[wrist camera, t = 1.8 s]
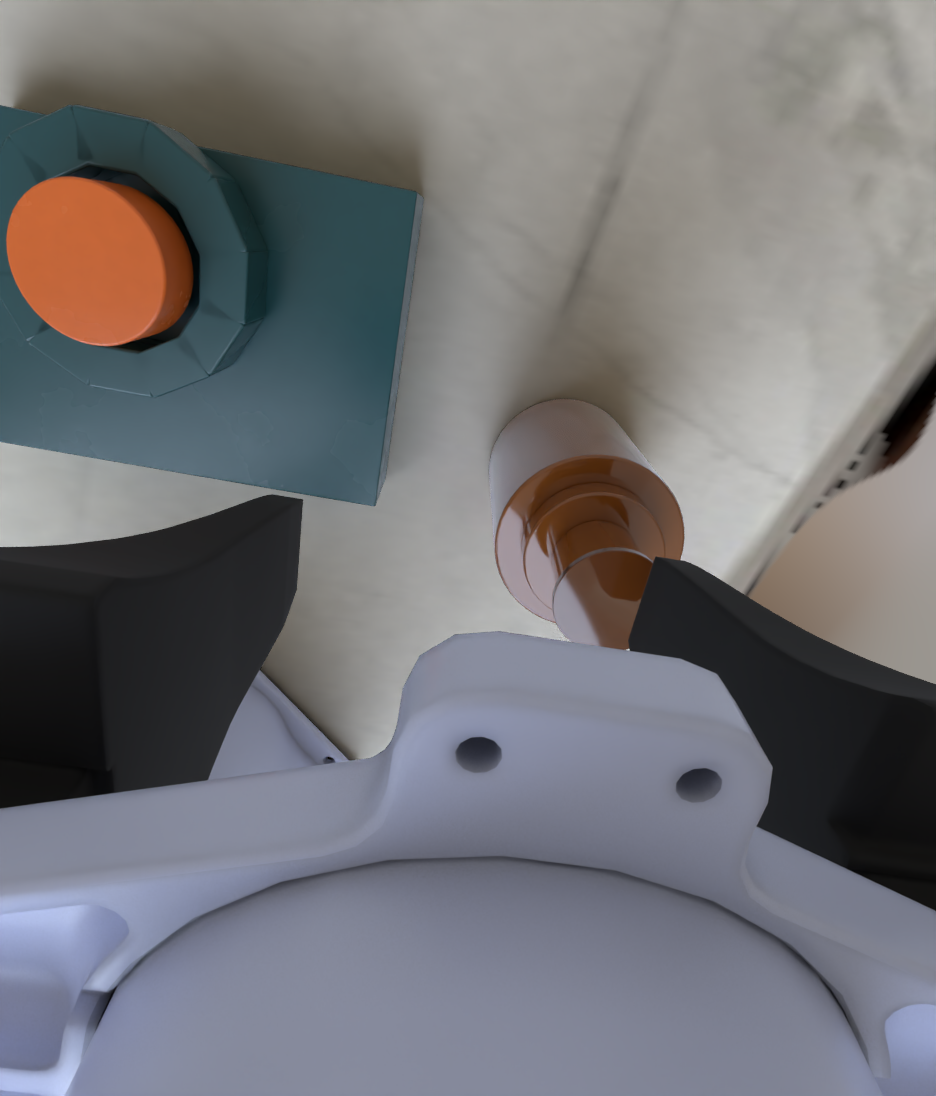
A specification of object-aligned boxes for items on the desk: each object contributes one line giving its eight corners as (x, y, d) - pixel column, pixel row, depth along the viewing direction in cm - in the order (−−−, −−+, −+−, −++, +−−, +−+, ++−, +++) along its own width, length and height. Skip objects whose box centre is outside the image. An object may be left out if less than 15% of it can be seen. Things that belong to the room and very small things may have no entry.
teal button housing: (425, 188, 20) (413, 174, 16) (385, 479, 23) (366, 529, 19) (8, 101, 19) (-121, 62, 15) (37, 418, 23) (-58, 457, 19)
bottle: (656, 486, 24) (762, 629, 15) (537, 558, 25) (571, 727, 16) (585, 368, 22) (659, 451, 13) (461, 451, 23) (454, 577, 14)
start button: (194, 198, 16) (164, 194, 15) (193, 348, 18) (166, 359, 16) (43, 168, 16) (-4, 160, 14) (55, 323, 17) (13, 331, 16)
